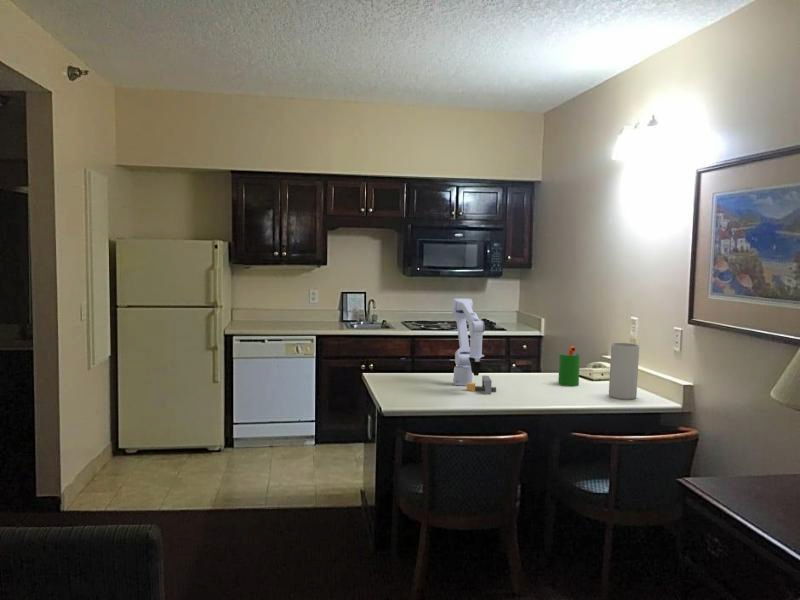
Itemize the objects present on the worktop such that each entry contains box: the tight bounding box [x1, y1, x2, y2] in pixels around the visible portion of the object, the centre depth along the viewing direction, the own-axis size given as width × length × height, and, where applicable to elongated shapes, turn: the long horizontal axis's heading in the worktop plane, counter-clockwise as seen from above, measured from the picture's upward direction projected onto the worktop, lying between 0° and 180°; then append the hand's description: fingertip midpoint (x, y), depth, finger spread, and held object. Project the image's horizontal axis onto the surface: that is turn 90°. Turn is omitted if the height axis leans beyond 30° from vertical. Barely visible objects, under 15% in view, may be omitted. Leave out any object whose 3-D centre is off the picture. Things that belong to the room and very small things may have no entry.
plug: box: [466, 382, 497, 393], centre depth 317 cm, size 14×4×4 cm, turn 83°
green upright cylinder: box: [557, 346, 581, 387], centre depth 336 cm, size 10×9×20 cm
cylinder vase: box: [608, 342, 640, 400], centre depth 310 cm, size 12×12×25 cm
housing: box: [481, 375, 493, 395], centre depth 316 cm, size 3×12×6 cm, turn 0°
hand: (475, 373), depth 315 cm, fingers open, 7 cm apart
